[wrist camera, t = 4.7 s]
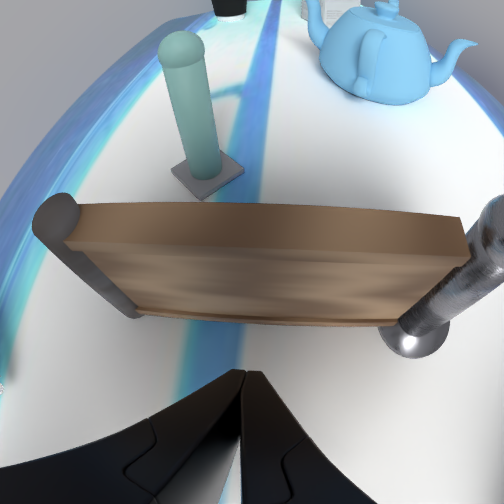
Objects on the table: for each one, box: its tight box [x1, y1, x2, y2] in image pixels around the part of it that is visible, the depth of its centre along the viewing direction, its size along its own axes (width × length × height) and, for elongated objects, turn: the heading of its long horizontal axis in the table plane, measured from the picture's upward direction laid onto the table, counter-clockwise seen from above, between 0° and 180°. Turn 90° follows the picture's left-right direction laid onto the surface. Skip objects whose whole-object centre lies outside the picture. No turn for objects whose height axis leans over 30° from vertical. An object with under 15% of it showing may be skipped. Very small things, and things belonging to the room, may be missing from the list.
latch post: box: [158, 31, 244, 201], centre depth 18 cm, size 4×4×11 cm
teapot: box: [305, 0, 478, 105], centre depth 25 cm, size 15×15×10 cm
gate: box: [32, 193, 471, 327], centre depth 13 cm, size 16×2×9 cm, turn 86°
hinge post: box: [378, 194, 504, 359], centre depth 12 cm, size 5×5×11 cm
